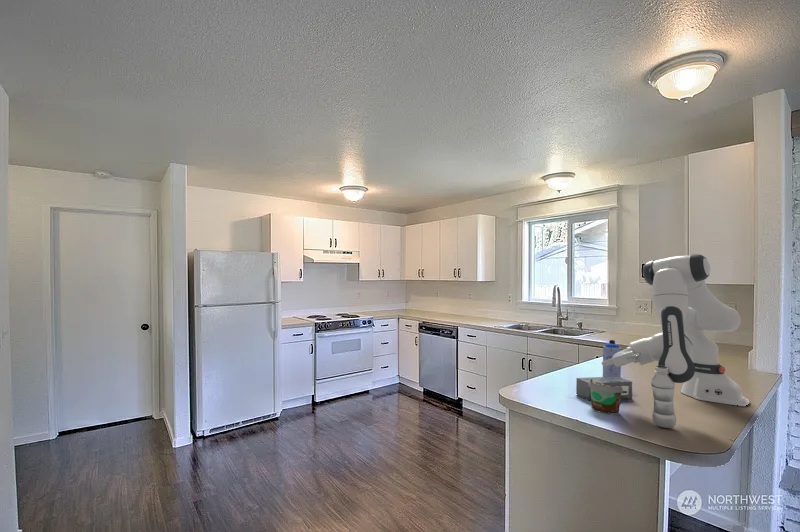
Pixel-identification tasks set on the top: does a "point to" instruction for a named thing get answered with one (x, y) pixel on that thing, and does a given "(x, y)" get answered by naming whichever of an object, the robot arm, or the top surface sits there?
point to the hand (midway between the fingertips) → (602, 364)
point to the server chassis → (584, 389)
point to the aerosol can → (608, 353)
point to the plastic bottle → (663, 398)
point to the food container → (605, 397)
